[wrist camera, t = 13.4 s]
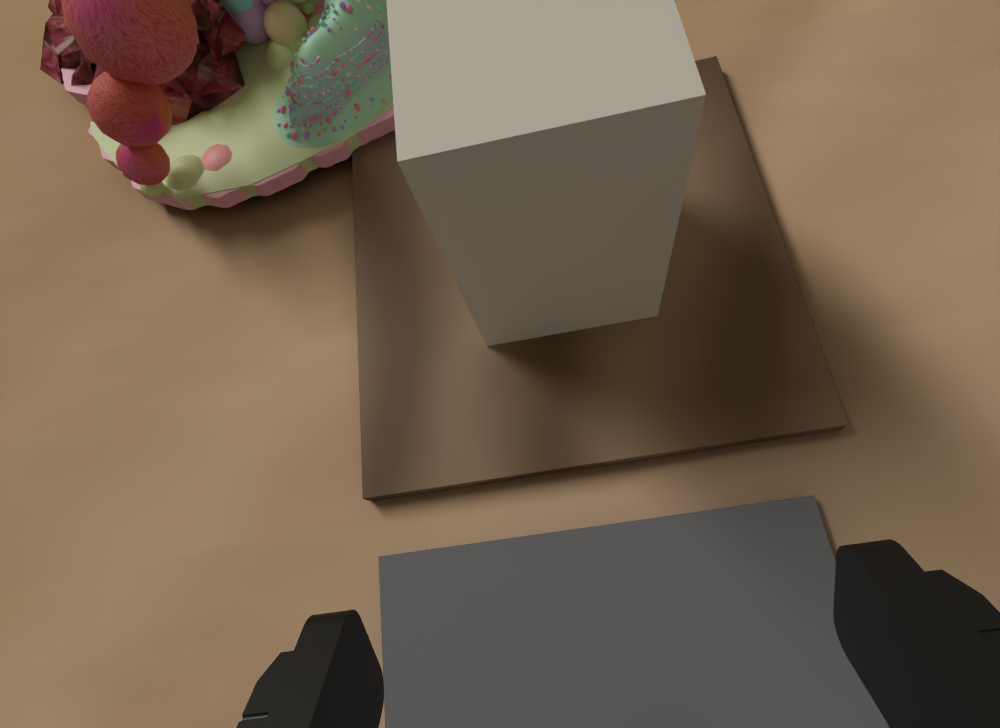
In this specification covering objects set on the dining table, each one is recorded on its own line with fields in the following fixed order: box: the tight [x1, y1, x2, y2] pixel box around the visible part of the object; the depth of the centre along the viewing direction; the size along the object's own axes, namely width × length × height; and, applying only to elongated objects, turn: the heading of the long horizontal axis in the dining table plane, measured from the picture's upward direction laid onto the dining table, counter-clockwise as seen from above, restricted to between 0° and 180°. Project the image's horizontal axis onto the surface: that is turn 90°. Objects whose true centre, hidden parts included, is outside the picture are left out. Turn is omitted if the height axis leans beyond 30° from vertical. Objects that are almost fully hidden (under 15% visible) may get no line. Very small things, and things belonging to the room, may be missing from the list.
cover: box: [386, 0, 706, 346], centre depth 17 cm, size 6×6×10 cm
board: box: [352, 56, 849, 501], centre depth 22 cm, size 16×16×1 cm
